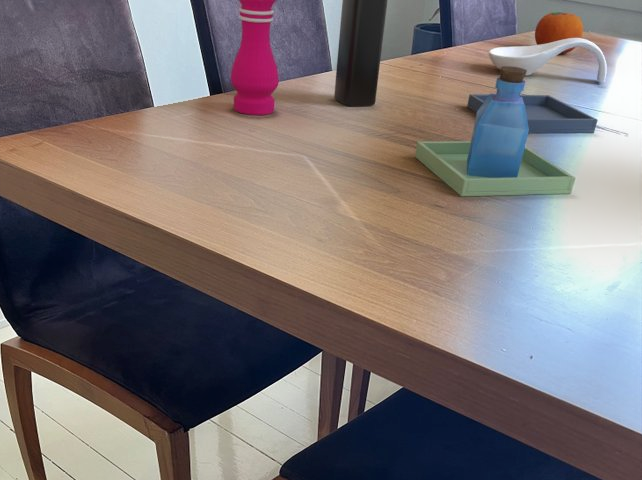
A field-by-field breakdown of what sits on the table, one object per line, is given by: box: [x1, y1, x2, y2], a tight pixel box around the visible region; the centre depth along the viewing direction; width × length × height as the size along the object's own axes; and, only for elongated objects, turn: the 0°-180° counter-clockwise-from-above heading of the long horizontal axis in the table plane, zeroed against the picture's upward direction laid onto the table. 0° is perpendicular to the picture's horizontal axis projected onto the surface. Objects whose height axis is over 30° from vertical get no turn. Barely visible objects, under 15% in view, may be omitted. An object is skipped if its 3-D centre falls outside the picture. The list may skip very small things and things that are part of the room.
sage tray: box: [414, 140, 576, 197], centre depth 95 cm, size 15×15×2 cm
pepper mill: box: [230, 0, 280, 116], centre depth 106 cm, size 7×7×20 cm
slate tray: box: [466, 93, 599, 134], centre depth 119 cm, size 15×15×2 cm
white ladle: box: [488, 37, 608, 84], centre depth 147 cm, size 24×12×7 cm, turn 79°
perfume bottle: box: [467, 66, 529, 178], centre depth 92 cm, size 6×6×12 cm
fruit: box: [534, 11, 584, 54], centre depth 169 cm, size 11×10×8 cm
